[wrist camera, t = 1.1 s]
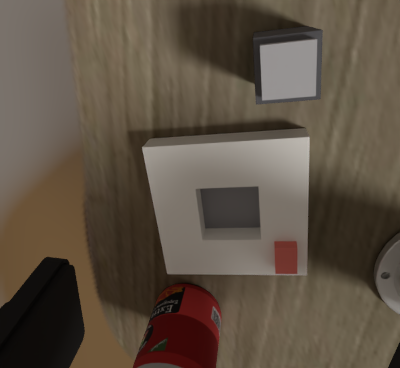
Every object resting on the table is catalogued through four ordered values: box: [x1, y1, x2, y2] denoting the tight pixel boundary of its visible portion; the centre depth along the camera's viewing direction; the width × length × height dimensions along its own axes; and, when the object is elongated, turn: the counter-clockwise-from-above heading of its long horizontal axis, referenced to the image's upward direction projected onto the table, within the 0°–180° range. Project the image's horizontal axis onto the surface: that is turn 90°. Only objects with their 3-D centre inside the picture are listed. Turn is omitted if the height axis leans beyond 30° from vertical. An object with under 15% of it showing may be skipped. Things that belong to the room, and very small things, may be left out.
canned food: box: [133, 284, 221, 368], centre depth 36 cm, size 8×8×11 cm
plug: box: [253, 26, 323, 104], centre depth 24 cm, size 4×4×8 cm
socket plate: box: [142, 128, 310, 275], centre depth 32 cm, size 14×14×3 cm
